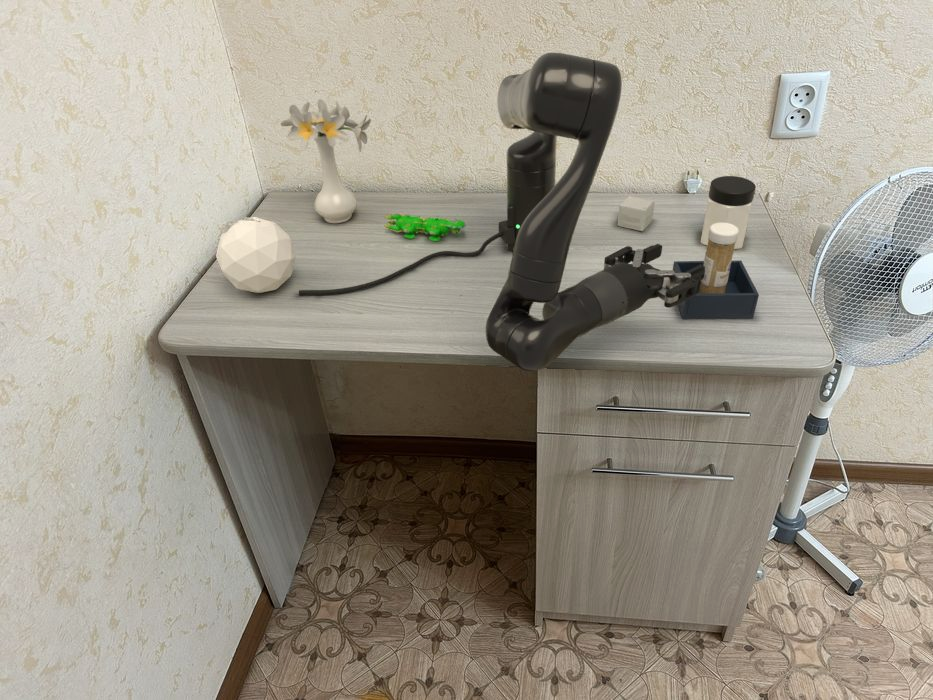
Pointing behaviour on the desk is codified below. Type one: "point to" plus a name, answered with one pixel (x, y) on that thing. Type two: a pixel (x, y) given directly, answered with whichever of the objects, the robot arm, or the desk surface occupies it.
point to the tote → (720, 295)
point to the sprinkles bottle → (718, 257)
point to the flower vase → (328, 153)
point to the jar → (729, 205)
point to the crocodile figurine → (424, 226)
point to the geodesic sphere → (255, 255)
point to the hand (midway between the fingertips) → (680, 259)
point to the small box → (636, 213)
